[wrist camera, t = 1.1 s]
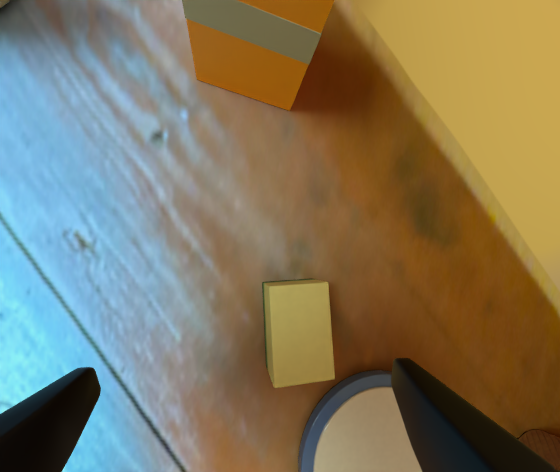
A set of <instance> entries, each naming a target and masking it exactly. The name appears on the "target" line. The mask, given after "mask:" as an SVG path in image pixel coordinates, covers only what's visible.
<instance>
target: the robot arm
mask: <svg viewBox="0 0 560 472" xmlns="http://www.w3.org/2000/svg"><path fill="white" fill-rule="evenodd" d="M391 385H392V389H393V392H394V395H395V398H396V401H397V404H398V407H399V410H400V413H401V416H402V419H403V422H404V425H405V429H406V432H407V435H408V438H409V440H410V443H411V446H412V449H413V451H414V453H415V456H416V458H417V461H418V463H419V465H420V467H421V470H422V472H560V470H555V468H554V466H553V465H552V464H550V463H549V462H547V461H546V460H545V459H543V458H542V457H541V456H539V455H538V454H537V453H535V452H534V451H533V450H531V449H530V448H529V447H527V446H526V445H525V444H523V443H522V442H521V441H519V440H518V439H517V438H515V437H514V436H513V435H511V434H510V433H509V432H507V431H506V430H505V429H503V428H502V427H501V426H499V425H498V424H497V423H495V422H494V421H493V420H491V419H490V418H489V417H487V416H486V415H484V414H483V413H482V412H480V411H479V410H478V409H476V408H475V407H474V406H472V405H471V404H470V403H468V402H467V401H466V400H464V399H463V398H462V397H460V396H459V395H458V394H456V393H455V392H454V391H452V390H451V389H450V388H448V387H447V386H446V385H444V384H443V383H442V382H440V381H439V380H438V379H436V378H435V377H434V376H432V375H431V374H430V373H428V372H427V371H426V370H424V369H423V368H421V367H420V366H419V365H417V364H416V363H415V362H413V361H412V360H411V359H409V358H396V359H394V361H393V368H392V376H391ZM100 391H101V388H100V384H99V381H98V378H97V375H96V371H95V369H93V368H91V367H84V368H77V369H75V370H73V371H72V372H70V373H68V374H67V375H65V376H63V377H62V378H60V379H58V380H57V381H55V382H53V383H52V384H50V385H48V386H47V387H45V388H43V389H42V390H40V391H38V392H37V393H35V394H33V395H32V396H30V397H28V398H27V399H25V400H23V401H22V402H20V403H18V404H17V405H15V406H13V407H12V408H10V409H8V410H7V411H5V412H3V413H2V414H0V472H62V470H63V468H64V466H65V465H66V463H67V461H68V459H69V457H70V456H71V454H72V452H73V450H74V448H75V446H76V444H77V442H78V440H79V438H80V436H81V434H82V431H83V429H84V427H85V425H86V423H87V421H88V419H89V417H90V415H91V413H92V411H93V409H94V407H95V405H96V403H97V400H98V398H99V396H100Z"/></svg>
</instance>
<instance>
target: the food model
mask: <svg viewBox="0 0 560 472" xmlns="http://www.w3.org/2000/svg"><path fill="white" fill-rule="evenodd" d="M9 1H10V0H0V8H1V7H3V6H4V5H5V4H7V3H8V2H9Z"/></svg>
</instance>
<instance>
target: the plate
mask: <svg viewBox="0 0 560 472" xmlns="http://www.w3.org/2000/svg"><path fill="white" fill-rule="evenodd" d="M391 376H392V372H390V371H383V370H373V371H366V372H361V373H358V374H355V375H353V376H350V377H348V378H346V379H345V380H343V381H341V382H340V383H338V384H337V385H336V386H334V387H333V388H332V389H331V390H330V391H329V392H328V393H327V394H326V395H325V396H324V397H323V398H322V399H321V400H320V402H319V403H318V404H317V406H316V407H315V409H314V410H313V412H312V414H311V416H310V418H309V420H308V422H307V424H306V427H305V430H304V432H303V435H302V440H301V444H300V449H299V458H298V472H422V470H421V467H420V465H419V463H418V461H417V458H416V456H415V453H414V451H413V449H412V446H411V443H410V440H409V438H408V435H407V432H406V429H405V425H404V422H403V419H402V416H401V413H400V410H399V407H398V404H397V401H396V398H395V395H394V392H393V389H392V385H391Z"/></svg>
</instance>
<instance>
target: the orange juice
mask: <svg viewBox="0 0 560 472" xmlns="http://www.w3.org/2000/svg"><path fill="white" fill-rule="evenodd" d="M182 2H183V8H184V14H185V18H186V20H187V26H188V32H189V37H190V43H191V49H192V54H193V60H194V66H195V71H196V77H197V80H200V81H203V82H206V83H209V84H212V85H215V86H218V87H220V88H223V89H226V90H229V91H232V92H235V93H238V94H241V95H244V96H247V97H250V98H253V99H256V100H259V101H262V102H265V103H267V104H270V105H273V106H276V107H279V108H282V109H285V110H288V111H290V109H291V107H292V104H293V102H294V99H295V97H296V95H297V92H298V90H299V87H300V85H301V82H302V80H303V77H304V75H305V72H306V70H307V67H308V65H309V64H310V61H311V59H312V57H313V54H314V52H315V49H316V47H317V44H318V42H319V39H320V37H321V34H322V30H323V27H324V25H325V22H326V20H327V17H328V15H329V12H330V10H331V7H332V5H333V2H334V0H182Z"/></svg>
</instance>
